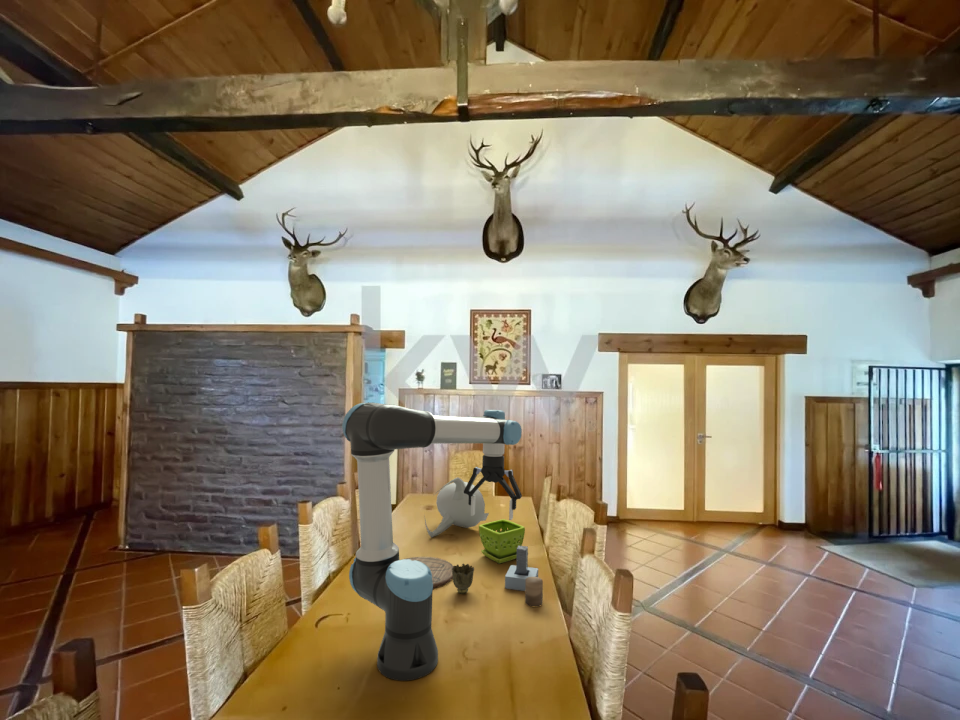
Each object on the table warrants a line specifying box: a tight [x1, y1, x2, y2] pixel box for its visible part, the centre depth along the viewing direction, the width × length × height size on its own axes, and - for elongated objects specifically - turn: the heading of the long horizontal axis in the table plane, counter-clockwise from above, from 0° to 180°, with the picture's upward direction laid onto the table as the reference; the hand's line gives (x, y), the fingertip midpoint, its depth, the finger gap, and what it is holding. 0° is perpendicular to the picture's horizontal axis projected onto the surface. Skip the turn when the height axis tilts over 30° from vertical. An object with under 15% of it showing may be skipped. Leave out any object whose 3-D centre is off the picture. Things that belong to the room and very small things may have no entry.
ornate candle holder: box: [452, 563, 475, 595], centre depth 155 cm, size 8×7×8 cm
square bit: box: [515, 545, 529, 576], centre depth 162 cm, size 3×3×12 cm
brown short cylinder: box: [524, 576, 544, 607], centre depth 148 cm, size 6×6×7 cm
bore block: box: [504, 564, 539, 592], centre depth 161 cm, size 10×10×4 cm
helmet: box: [423, 477, 489, 538], centre depth 215 cm, size 24×29×35 cm
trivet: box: [401, 556, 454, 589], centre depth 168 cm, size 25×25×2 cm
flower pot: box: [478, 518, 526, 565], centre depth 185 cm, size 14×14×13 cm
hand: (491, 517), depth 159 cm, fingers open, 13 cm apart
